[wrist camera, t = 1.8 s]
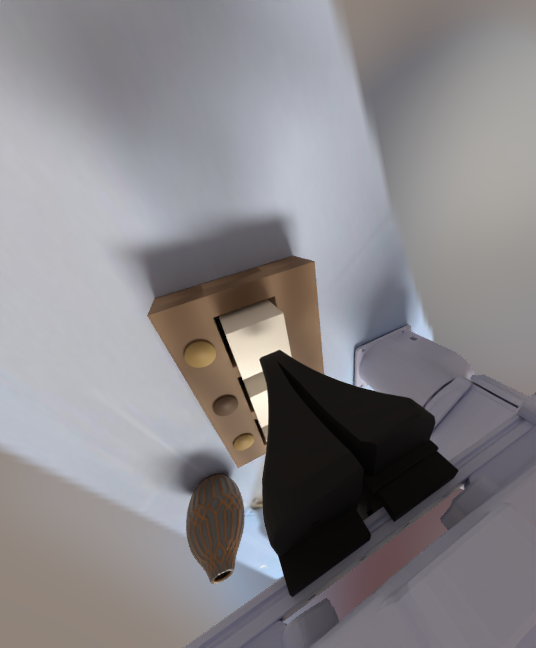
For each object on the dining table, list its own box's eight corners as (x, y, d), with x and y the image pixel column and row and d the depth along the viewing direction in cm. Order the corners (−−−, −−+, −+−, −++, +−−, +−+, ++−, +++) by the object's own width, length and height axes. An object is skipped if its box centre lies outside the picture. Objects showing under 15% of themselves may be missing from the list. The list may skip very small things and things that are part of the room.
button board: (292, 255, 18) (315, 261, 14) (312, 399, 28) (328, 421, 24) (154, 298, 15) (146, 316, 12) (231, 439, 25) (238, 469, 22)
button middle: (276, 351, 19) (295, 376, 16) (283, 379, 21) (301, 407, 18) (238, 367, 18) (249, 397, 15) (248, 394, 20) (261, 427, 17)
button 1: (263, 295, 16) (283, 313, 13) (272, 334, 18) (292, 358, 15) (216, 311, 15) (225, 334, 12) (231, 350, 17) (242, 379, 14)
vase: (174, 495, 26) (169, 603, 18) (215, 461, 26) (226, 555, 18) (210, 503, 29) (219, 595, 22) (246, 473, 29) (266, 555, 22)
